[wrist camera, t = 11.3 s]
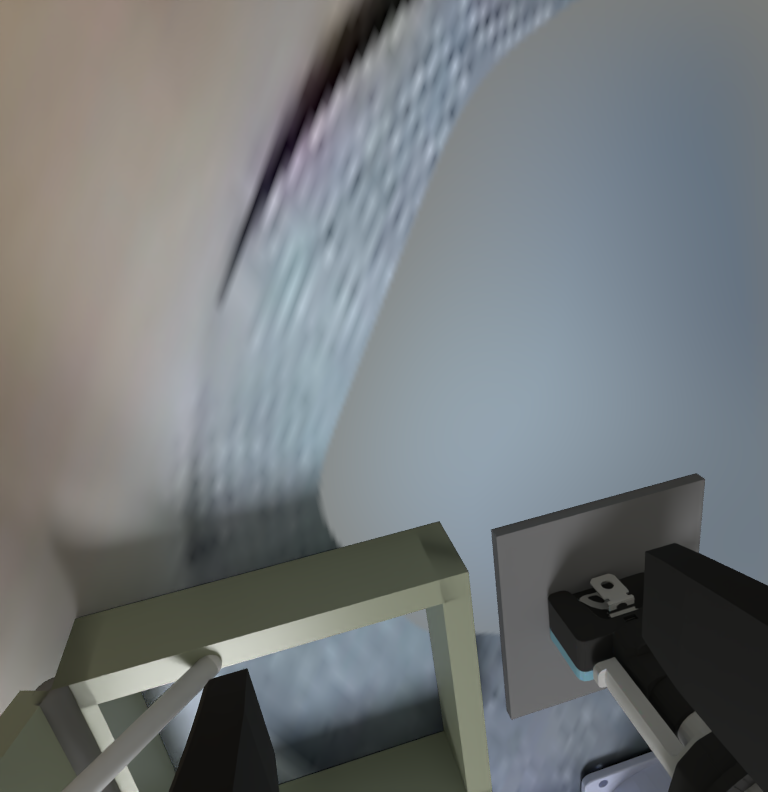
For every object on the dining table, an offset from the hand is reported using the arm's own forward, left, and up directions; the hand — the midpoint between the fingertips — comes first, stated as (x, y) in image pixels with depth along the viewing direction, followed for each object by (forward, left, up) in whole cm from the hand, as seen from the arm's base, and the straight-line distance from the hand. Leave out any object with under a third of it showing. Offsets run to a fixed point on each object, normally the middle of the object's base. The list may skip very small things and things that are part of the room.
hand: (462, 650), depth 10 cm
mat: (-9, +11, -10) cm, 18 cm away
